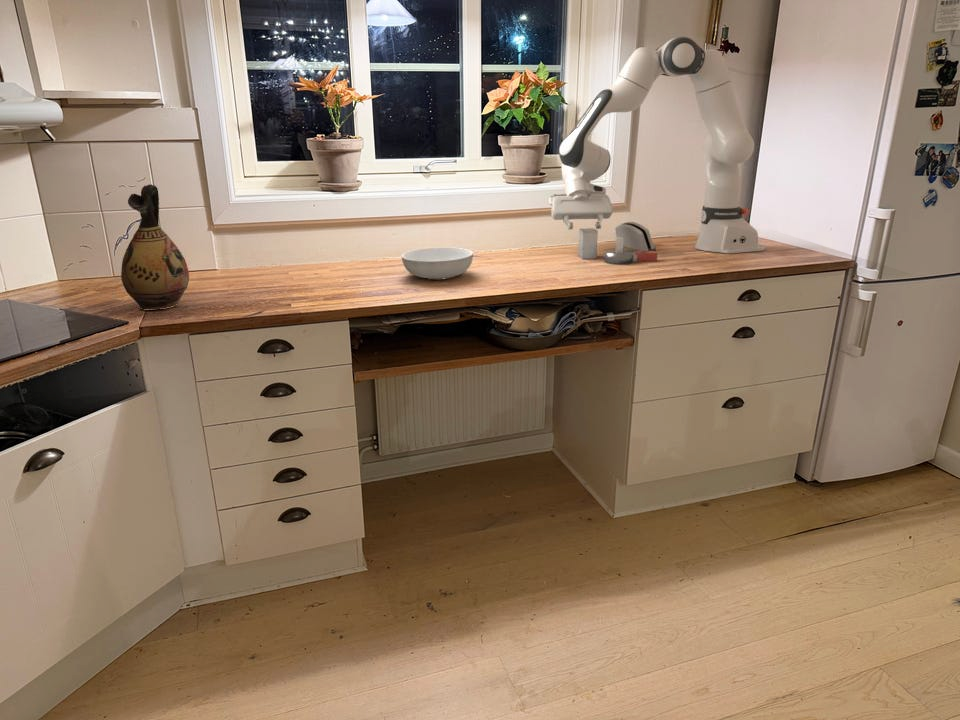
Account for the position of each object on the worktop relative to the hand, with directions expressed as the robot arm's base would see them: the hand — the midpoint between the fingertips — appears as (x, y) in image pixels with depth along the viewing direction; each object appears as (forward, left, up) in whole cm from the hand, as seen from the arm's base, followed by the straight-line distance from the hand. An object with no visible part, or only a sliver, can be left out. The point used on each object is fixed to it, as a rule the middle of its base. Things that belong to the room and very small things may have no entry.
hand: (584, 228), depth 223 cm
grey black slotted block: (-20, -9, -9) cm, 24 cm away
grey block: (0, +4, -9) cm, 10 cm away
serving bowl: (+50, +22, -9) cm, 55 cm away
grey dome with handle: (-12, +12, -9) cm, 19 cm away
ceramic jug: (+122, +42, -9) cm, 129 cm away
